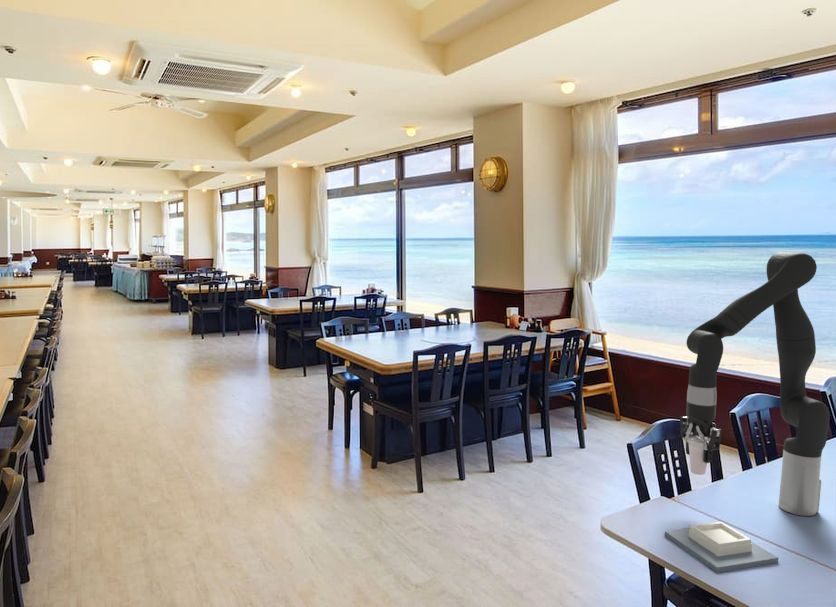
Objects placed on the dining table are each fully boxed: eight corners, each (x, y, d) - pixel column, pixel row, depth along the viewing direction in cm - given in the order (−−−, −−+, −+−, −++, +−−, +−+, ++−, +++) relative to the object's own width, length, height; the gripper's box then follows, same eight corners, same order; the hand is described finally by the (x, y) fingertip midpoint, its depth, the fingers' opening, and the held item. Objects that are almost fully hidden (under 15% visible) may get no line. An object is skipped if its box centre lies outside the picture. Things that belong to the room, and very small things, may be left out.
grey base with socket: (720, 527, 159) (721, 512, 158) (778, 562, 142) (779, 545, 141) (664, 535, 154) (665, 519, 153) (716, 572, 136) (718, 555, 136)
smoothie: (713, 477, 165) (715, 429, 163) (688, 475, 166) (691, 427, 164) (706, 468, 171) (709, 422, 169) (683, 467, 172) (685, 420, 171)
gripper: (732, 406, 161) (728, 466, 162) (694, 393, 174) (691, 448, 176) (709, 408, 158) (706, 468, 160) (672, 395, 172) (670, 451, 174)
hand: (698, 458), depth 168 cm, fingers closed on smoothie, 6 cm apart
